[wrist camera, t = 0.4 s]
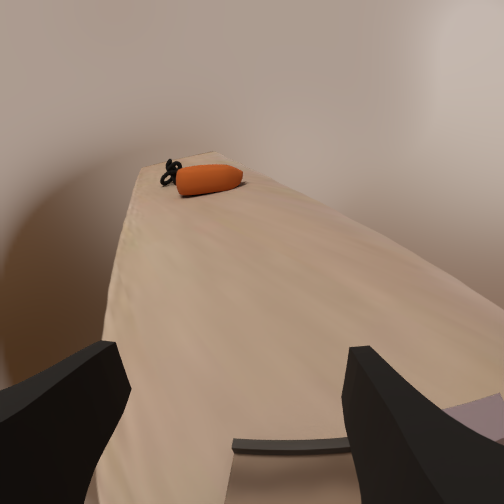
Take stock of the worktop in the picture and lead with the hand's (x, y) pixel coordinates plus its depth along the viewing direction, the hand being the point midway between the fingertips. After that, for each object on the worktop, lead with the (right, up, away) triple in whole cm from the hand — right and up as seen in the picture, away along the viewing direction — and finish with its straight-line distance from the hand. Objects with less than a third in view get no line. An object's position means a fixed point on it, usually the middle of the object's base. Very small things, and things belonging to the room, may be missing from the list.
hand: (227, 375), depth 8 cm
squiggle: (-35, +35, +125) cm, 134 cm away
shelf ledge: (+10, -15, +10) cm, 21 cm away
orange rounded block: (-14, +26, +102) cm, 106 cm away
